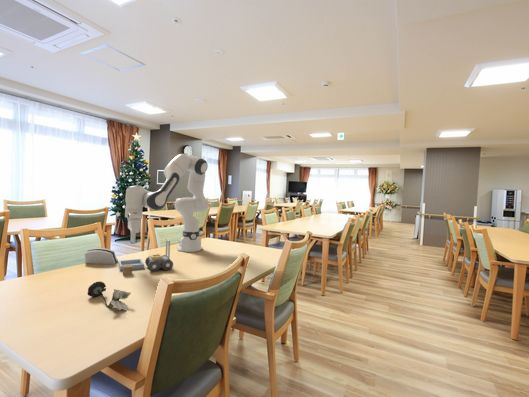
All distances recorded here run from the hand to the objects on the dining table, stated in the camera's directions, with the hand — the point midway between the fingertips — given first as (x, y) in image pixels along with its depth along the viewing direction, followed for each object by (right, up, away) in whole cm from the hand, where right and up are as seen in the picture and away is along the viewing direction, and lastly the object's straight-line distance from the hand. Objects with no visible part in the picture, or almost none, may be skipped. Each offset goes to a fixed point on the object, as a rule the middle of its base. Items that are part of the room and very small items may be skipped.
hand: (133, 238), depth 152 cm
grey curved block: (-22, -16, +5) cm, 27 cm away
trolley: (+14, -17, +1) cm, 22 cm away
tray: (-2, -16, +1) cm, 16 cm away
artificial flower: (+13, -20, -45) cm, 51 cm away
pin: (0, -3, 0) cm, 3 cm away
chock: (+2, -17, -11) cm, 20 cm away
